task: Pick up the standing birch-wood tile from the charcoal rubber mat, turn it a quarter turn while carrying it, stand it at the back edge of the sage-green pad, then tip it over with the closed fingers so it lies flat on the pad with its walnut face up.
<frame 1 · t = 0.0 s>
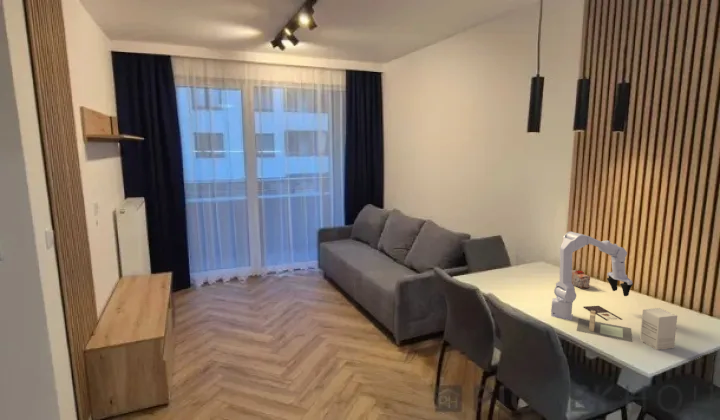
hand: (620, 293, 209), 11 cm above the table, tool pointing down, fingers open, 7 cm apart
supplement box: (656, 344, 176), on the table
mat: (603, 330, 190), on the table
chocolate bar: (602, 314, 209), on the table
tile: (591, 328, 191), resting on mat
food item: (578, 286, 252), on the table
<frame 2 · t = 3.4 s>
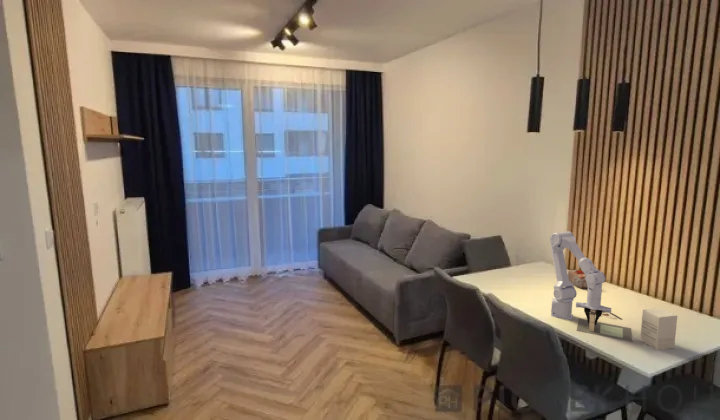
hand: (592, 323, 191), 3 cm above the table, tool pointing down, fingers closed on tile, 2 cm apart
tile: (591, 328, 191), point 1 cm above the table, touching gripper, mat
everything else where it was.
when the fingers open (4 cm above the table, at t = 6.9 s): tile moves 1 cm and tips over, resting on mat.
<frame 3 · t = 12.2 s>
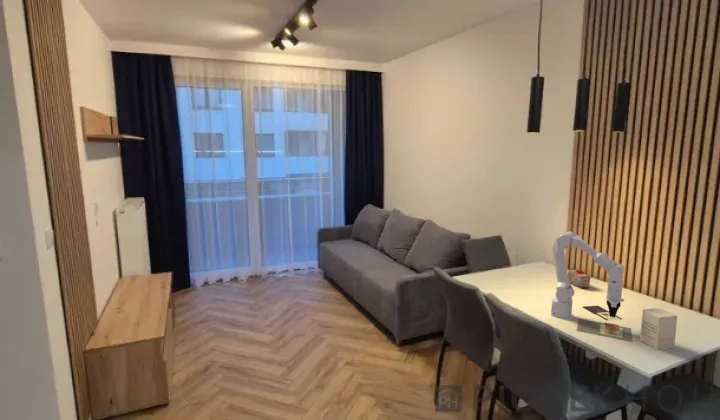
hand: (612, 316, 190), 6 cm above the table, tool pointing down, fingers closed
tile: (611, 325, 192), point 2 cm above the table, tilted 90°, touching mat
everything else where it was.
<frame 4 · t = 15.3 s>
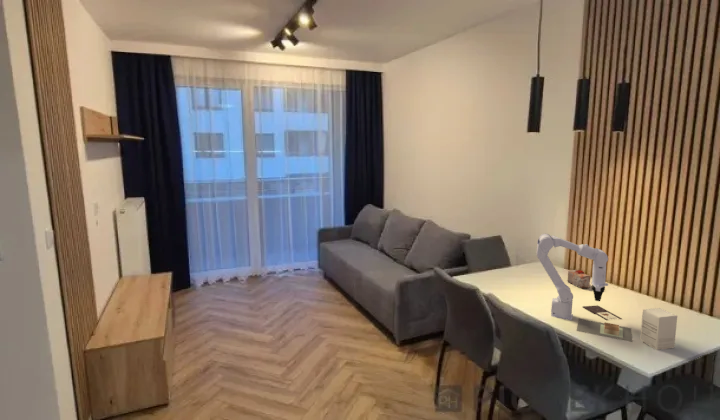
hand: (597, 300, 200), 10 cm above the table, tool pointing down, fingers closed
nothing on the table moved.
at the end: tile tilted 90°; tile inside the target area (0.4 cm from its centre), point 1.5 cm above the table; tile touching mat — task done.
